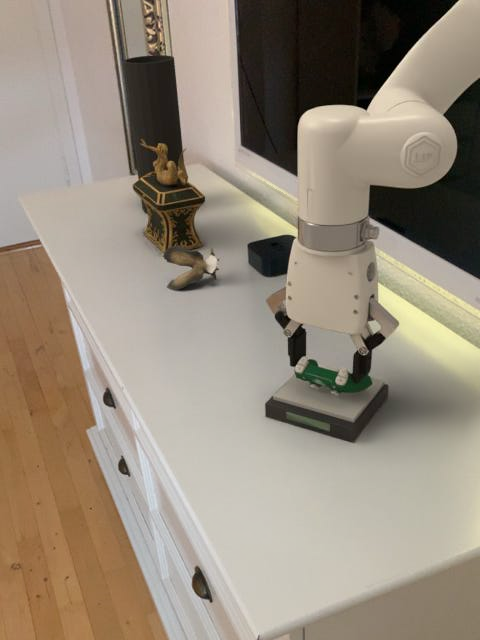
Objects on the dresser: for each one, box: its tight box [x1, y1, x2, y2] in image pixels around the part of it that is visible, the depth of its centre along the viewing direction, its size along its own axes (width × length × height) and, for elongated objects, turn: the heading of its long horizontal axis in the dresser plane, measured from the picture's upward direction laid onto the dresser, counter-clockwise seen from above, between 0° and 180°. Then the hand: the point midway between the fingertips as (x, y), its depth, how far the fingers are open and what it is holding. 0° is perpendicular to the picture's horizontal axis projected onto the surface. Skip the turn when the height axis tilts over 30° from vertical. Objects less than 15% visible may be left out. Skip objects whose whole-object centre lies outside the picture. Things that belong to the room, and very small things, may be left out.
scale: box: [264, 363, 390, 443], centre depth 89 cm, size 12×11×3 cm
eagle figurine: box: [162, 245, 220, 291], centre depth 122 cm, size 8×7×9 cm
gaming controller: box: [293, 356, 372, 396], centre depth 87 cm, size 9×4×6 cm
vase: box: [122, 54, 185, 214], centre depth 149 cm, size 10×10×30 cm
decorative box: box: [132, 139, 206, 254], centre depth 134 cm, size 20×10×20 cm, turn 25°
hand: (328, 369), depth 86 cm, fingers closed on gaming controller, 7 cm apart
